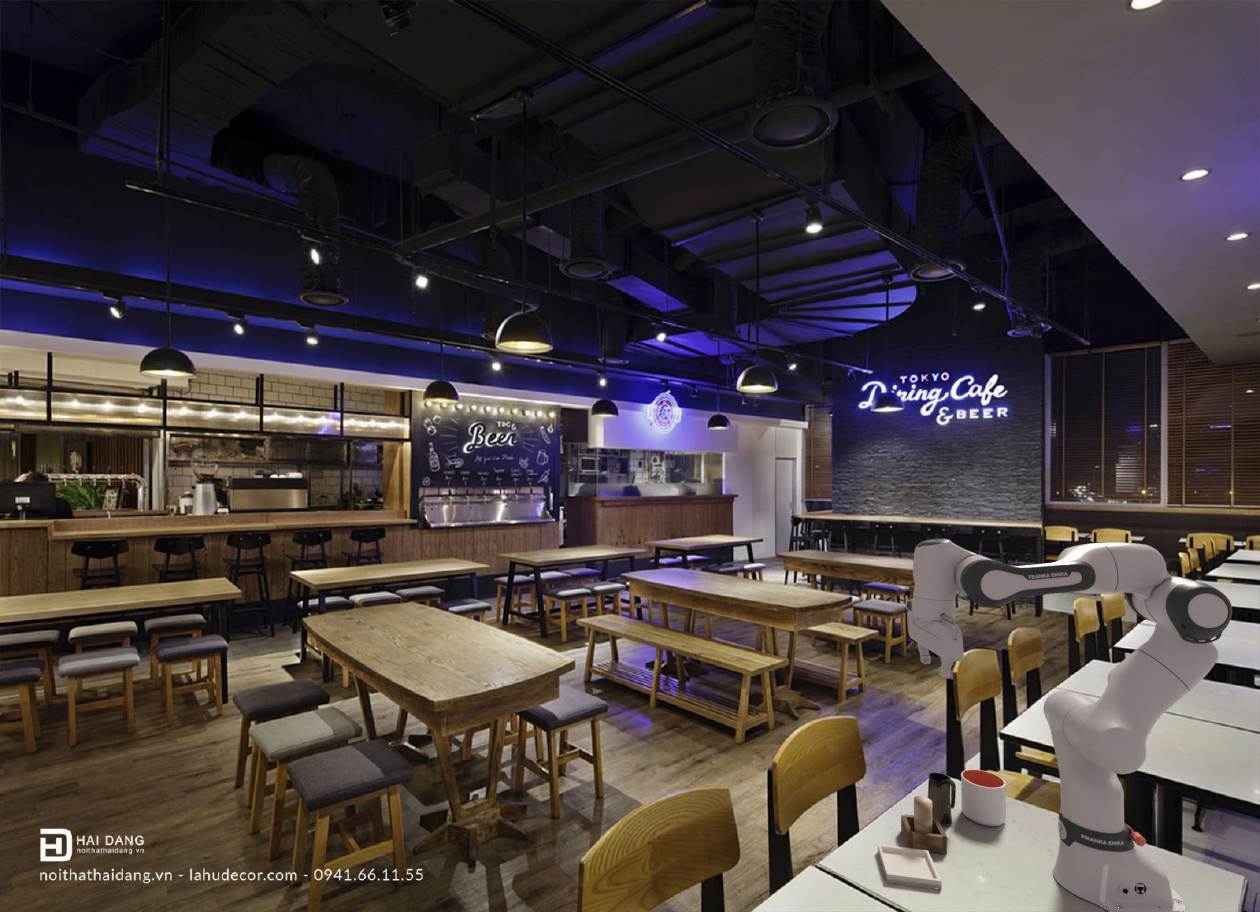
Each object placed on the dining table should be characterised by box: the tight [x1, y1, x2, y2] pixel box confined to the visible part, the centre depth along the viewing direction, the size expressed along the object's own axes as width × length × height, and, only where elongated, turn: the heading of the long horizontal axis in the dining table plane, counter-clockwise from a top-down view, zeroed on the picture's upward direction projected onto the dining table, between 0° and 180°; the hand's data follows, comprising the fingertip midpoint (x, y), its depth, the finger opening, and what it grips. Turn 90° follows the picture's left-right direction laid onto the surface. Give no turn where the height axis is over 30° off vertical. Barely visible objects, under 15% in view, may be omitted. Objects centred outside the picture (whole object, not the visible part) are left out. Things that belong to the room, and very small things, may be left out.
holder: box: [900, 814, 948, 856], centre depth 150 cm, size 8×8×4 cm
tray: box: [877, 844, 942, 890], centre depth 140 cm, size 11×11×2 cm
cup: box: [960, 769, 1007, 827], centre depth 161 cm, size 10×10×10 cm
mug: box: [927, 772, 957, 828], centre depth 158 cm, size 8×6×12 cm
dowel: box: [913, 795, 932, 834], centre depth 150 cm, size 4×4×10 cm
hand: (934, 669), depth 144 cm, fingers open, 8 cm apart
